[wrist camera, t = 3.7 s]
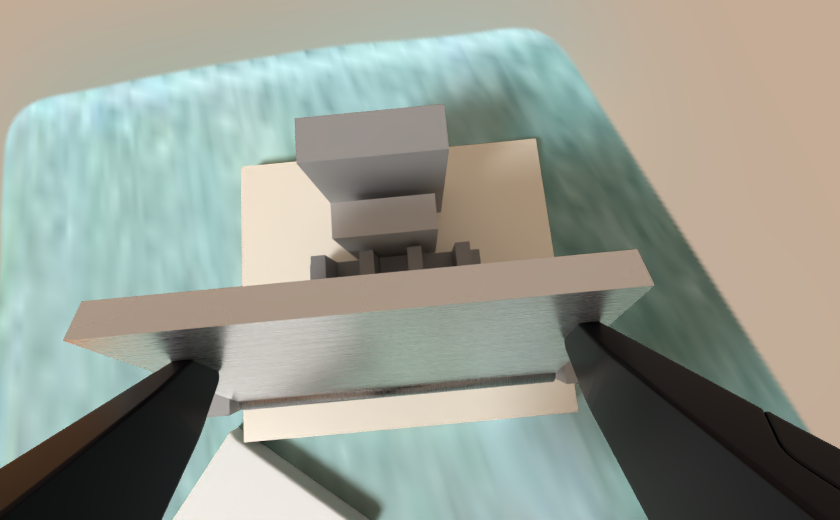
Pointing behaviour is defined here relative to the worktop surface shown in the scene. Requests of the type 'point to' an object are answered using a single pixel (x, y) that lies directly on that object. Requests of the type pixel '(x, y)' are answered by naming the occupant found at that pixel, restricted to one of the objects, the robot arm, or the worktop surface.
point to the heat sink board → (393, 244)
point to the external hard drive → (259, 488)
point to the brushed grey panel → (372, 328)
